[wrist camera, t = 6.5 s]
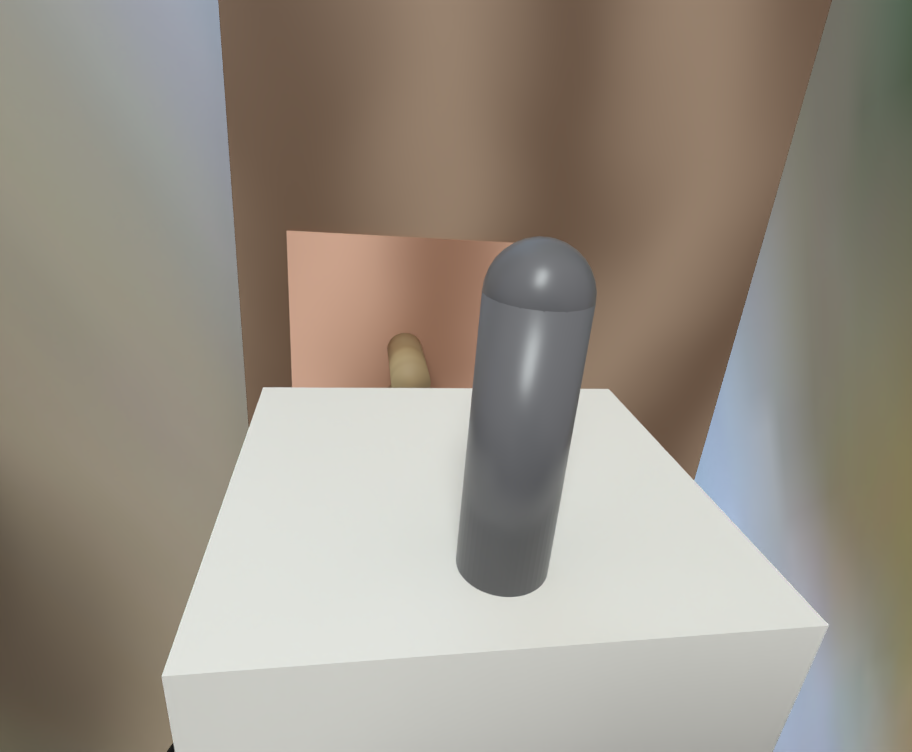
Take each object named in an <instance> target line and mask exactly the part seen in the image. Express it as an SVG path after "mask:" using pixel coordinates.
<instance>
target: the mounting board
mask: <svg viewBox="0 0 912 752" xmlns="http://www.w3.org/2000/svg"><path fill="white" fill-rule="evenodd" d="M831 2H832V0H218V3H219V17H220V31H221V45H222V59H223V73H224V87H225V101H226V115H227V129H228V143H229V157H230V171H231V185H232V199H233V213H234V227H235V241H236V256H237V270H238V284H239V298H240V312H241V326H242V340H243V354H244V368H245V382H246V396H247V410H248V424H249V426H250V423H251V421H252V418H253V415H254V412H255V409H256V406H257V403H258V401H259V398H260V395H261V392H262V389H263V387H305V388H472V387H473V377H474V367H475V356H476V346H477V336H478V325H479V315H480V305H481V295H482V287H483V282H484V278H485V276H486V273H487V271H488V268H489V266H490V265H491V263H492V262H493V260H494V259H495V257H496V256H497V255H498V254H499V253H501V252H502V251H503V250H504V249H505V248H507V247H508V246H510V245H511V244H513V243H515V242H517V241H520V240H522V239H525V238H531V237H537V236H543V237H552V238H556V239H558V240H561V241H564V242H566V243H568V244H569V245H571V246H572V247H574V248H575V249H577V250H578V251H579V252H580V253H581V254H582V255H583V257H584V258H585V259H586V261H587V262H588V264H589V265H590V267H591V269H592V272H593V275H594V278H595V282H596V289H597V296H596V305H595V311H594V316H593V322H592V328H591V333H590V339H589V344H588V350H587V356H586V361H585V367H584V372H583V378H582V383H581V389H609V390H610V391H611V392H612V393H613V394H614V395H615V396H616V397H617V398H618V399H619V401H620V402H621V403H622V404H623V405H624V406H625V407H626V408H627V409H628V410H629V411H630V412H631V413H632V414H633V416H634V417H635V418H636V419H637V420H638V421H639V422H640V423H641V424H642V425H643V426H644V427H645V428H646V430H647V431H648V432H649V433H650V434H651V435H652V436H653V437H654V438H655V439H656V440H657V441H658V442H659V443H660V445H661V446H662V447H663V448H664V449H665V450H666V451H667V452H668V453H669V454H670V455H671V456H672V457H673V459H674V460H675V461H676V462H677V463H678V464H679V465H680V466H681V467H682V468H683V469H684V470H685V471H686V472H687V474H688V475H689V476H690V477H691V478H692V479H693V480H694V479H695V475H696V472H697V468H698V465H699V461H700V458H701V454H702V451H703V447H704V444H705V440H706V437H707V433H708V430H709V426H710V423H711V420H712V416H713V413H714V409H715V406H716V402H717V399H718V395H719V392H720V388H721V385H722V381H723V378H724V374H725V371H726V367H727V364H728V360H729V357H730V353H731V350H732V346H733V343H734V339H735V336H736V333H737V329H738V326H739V322H740V319H741V315H742V312H743V308H744V305H745V301H746V298H747V294H748V291H749V287H750V284H751V280H752V277H753V273H754V270H755V266H756V263H757V259H758V256H759V253H760V249H761V246H762V242H763V239H764V235H765V232H766V228H767V225H768V221H769V218H770V214H771V211H772V207H773V204H774V200H775V197H776V193H777V190H778V186H779V183H780V179H781V176H782V172H783V169H784V166H785V162H786V159H787V155H788V152H789V148H790V145H791V141H792V138H793V134H794V131H795V127H796V124H797V120H798V117H799V113H800V110H801V106H802V103H803V99H804V96H805V92H806V89H807V86H808V82H809V79H810V75H811V72H812V68H813V65H814V61H815V58H816V54H817V51H818V47H819V44H820V40H821V37H822V33H823V30H824V26H825V23H826V19H827V16H828V12H829V9H830V5H831Z"/></svg>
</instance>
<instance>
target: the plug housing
mask: <svg viewBox="0 0 912 752" xmlns="http://www.w3.org/2000/svg"><path fill="white" fill-rule="evenodd" d="M596 296H597V289H596V282H595V278H594V275H593V272H592V269H591V267H590V265H589V264H588V262H587V261H586V259H585V258H584V257H583V255H582V254H581V253H580V252H579V251H578V250H577V249H575V248H574V247H572V246H571V245H569V244H568V243H566V242H564V241H561V240H558V239H556V238H552V237H543V236H537V237H531V238H525V239H522V240H520V241H517V242H515V243H513V244H511V245H510V246H508V247H507V248H505V249H504V250H503V251H502V252H501V253H499V254H498V255H497V256H496V257H495V259H494V260H493V262H492V263H491V265H490V266H489V268H488V271H487V273H486V276H485V278H484V282H483V287H482V295H481V305H480V315H479V325H478V336H477V346H476V356H475V367H474V377H473V387H472V388H305V387H263V389H262V392H261V395H260V398H259V401H258V403H257V406H256V409H255V412H254V415H253V418H252V421H251V423H250V426H249V429H248V432H247V435H246V438H245V440H244V443H243V446H242V449H241V452H240V455H239V458H238V460H237V463H236V466H235V469H234V472H233V475H232V477H231V480H230V483H229V486H228V489H227V492H226V495H225V497H224V500H223V503H222V506H221V509H220V512H219V514H218V517H217V520H216V523H215V526H214V529H213V532H212V534H211V537H210V540H209V543H208V546H207V549H206V551H205V554H204V557H203V560H202V563H201V566H200V569H199V571H198V574H197V577H196V580H195V583H194V586H193V588H192V591H191V594H190V597H189V600H188V603H187V606H186V608H185V611H184V614H183V617H182V620H181V623H180V625H179V628H178V631H177V634H176V637H175V640H174V643H173V645H172V648H171V651H170V654H169V657H168V660H167V662H166V665H165V668H164V671H163V674H162V682H163V687H164V693H165V699H166V704H167V710H168V716H169V721H170V727H171V732H172V738H173V744H174V749H175V752H773V750H774V747H775V745H776V743H777V741H778V739H779V736H780V734H781V732H782V730H783V727H784V725H785V723H786V721H787V718H788V716H789V714H790V712H791V710H792V707H793V705H794V703H795V701H796V698H797V696H798V694H799V692H800V689H801V687H802V685H803V683H804V680H805V678H806V676H807V674H808V672H809V669H810V667H811V665H812V663H813V660H814V658H815V656H816V654H817V651H818V649H819V647H820V645H821V642H822V640H823V638H824V636H825V634H826V631H827V629H828V627H829V625H828V624H827V623H826V622H825V621H824V620H823V619H822V617H821V616H820V615H819V614H818V613H817V612H816V611H815V610H814V609H813V608H812V607H811V606H810V605H809V604H808V602H807V601H806V600H805V599H804V598H803V597H802V596H801V595H800V594H799V593H798V592H797V591H796V590H795V588H794V587H793V586H792V585H791V584H790V583H789V582H788V581H787V580H786V579H785V578H784V577H783V576H782V575H781V573H780V572H779V571H778V570H777V569H776V568H775V567H774V566H773V565H772V564H771V563H770V562H769V561H768V559H767V558H766V557H765V556H764V555H763V554H762V553H761V552H760V551H759V550H758V549H757V548H756V547H755V546H754V544H753V543H752V542H751V541H750V540H749V539H748V538H747V537H746V536H745V535H744V534H743V533H742V532H741V530H740V529H739V528H738V527H737V526H736V525H735V524H734V523H733V522H732V521H731V520H730V519H729V518H728V517H727V515H726V514H725V513H724V512H723V511H722V510H721V509H720V508H719V507H718V506H717V505H716V504H715V503H714V501H713V500H712V499H711V498H710V497H709V496H708V495H707V494H706V493H705V492H704V491H703V490H702V489H701V488H700V486H699V485H698V484H697V483H696V482H695V481H694V480H693V479H692V478H691V477H690V476H689V475H688V474H687V472H686V471H685V470H684V469H683V468H682V467H681V466H680V465H679V464H678V463H677V462H676V461H675V460H674V459H673V457H672V456H671V455H670V454H669V453H668V452H667V451H666V450H665V449H664V448H663V447H662V446H661V445H660V443H659V442H658V441H657V440H656V439H655V438H654V437H653V436H652V435H651V434H650V433H649V432H648V431H647V430H646V428H645V427H644V426H643V425H642V424H641V423H640V422H639V421H638V420H637V419H636V418H635V417H634V416H633V414H632V413H631V412H630V411H629V410H628V409H627V408H626V407H625V406H624V405H623V404H622V403H621V402H620V401H619V399H618V398H617V397H616V396H615V395H614V394H613V393H612V392H611V391H610V390H609V389H581V383H582V378H583V372H584V367H585V361H586V356H587V350H588V344H589V339H590V333H591V328H592V322H593V316H594V311H595V305H596Z"/></svg>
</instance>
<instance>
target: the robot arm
mask: <svg viewBox="0 0 912 752" xmlns="http://www.w3.org/2000/svg"><path fill="white" fill-rule="evenodd" d="M167 752H175V749H174V744H172V745H171V746H170V748H169V749H168V751H167Z"/></svg>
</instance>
